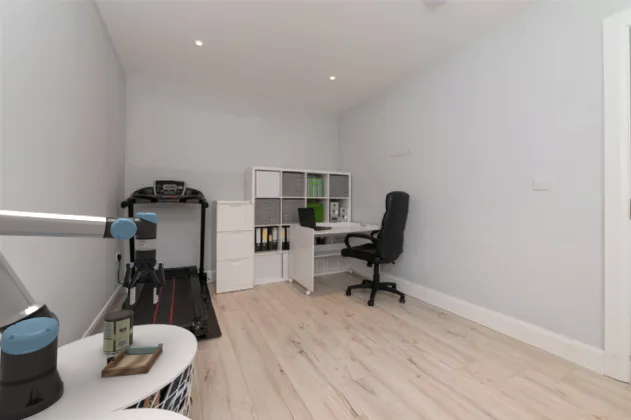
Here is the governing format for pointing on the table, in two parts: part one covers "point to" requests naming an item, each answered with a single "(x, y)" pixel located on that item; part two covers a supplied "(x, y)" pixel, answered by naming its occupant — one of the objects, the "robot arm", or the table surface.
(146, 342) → the table surface
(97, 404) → the table surface
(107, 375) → the shallow wooden tray
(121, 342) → the coffee can
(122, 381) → the table surface
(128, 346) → the gate
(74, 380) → the table surface
